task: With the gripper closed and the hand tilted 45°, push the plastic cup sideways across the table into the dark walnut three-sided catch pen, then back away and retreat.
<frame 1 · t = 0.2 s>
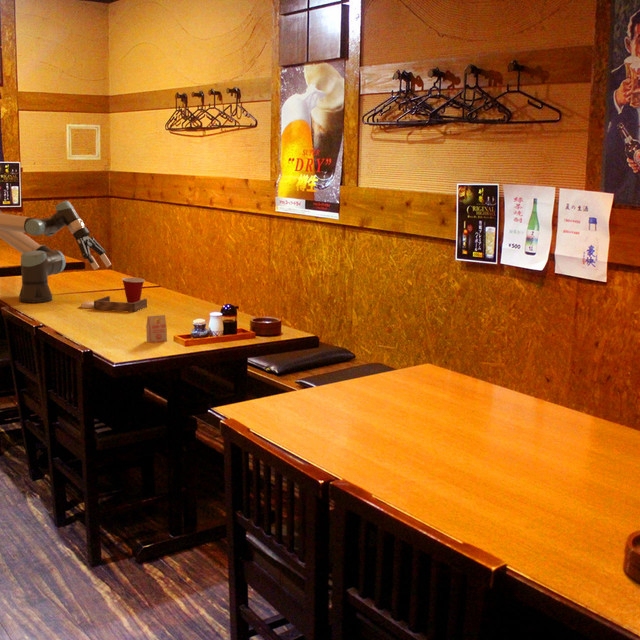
hand: (103, 267, 371), 16 cm above the table, tool tilted 35°, fingers open, 13 cm apart
plastic cup: (134, 303, 366), on the table
printed paper bag: (156, 341, 292), on the table
catch pen: (120, 308, 353), on the table
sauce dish: (90, 307, 355), on the table
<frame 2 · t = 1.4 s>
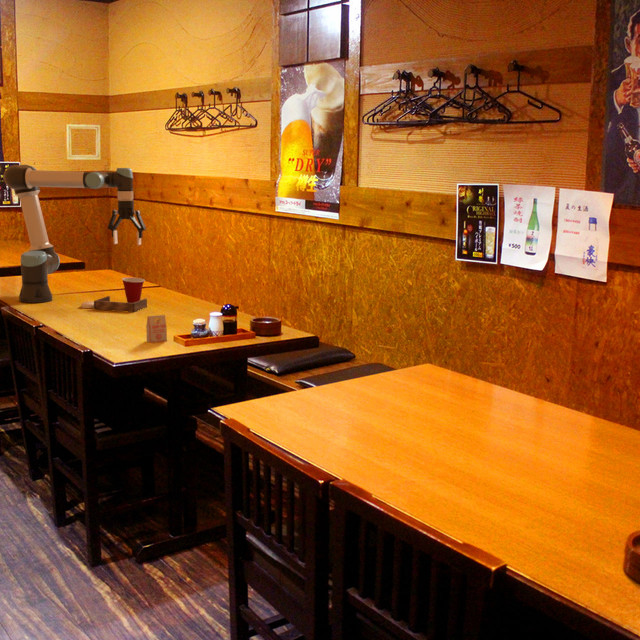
hand: (127, 244, 374), 27 cm above the table, tool pointing down, fingers open, 12 cm apart
nothing on the table moved.
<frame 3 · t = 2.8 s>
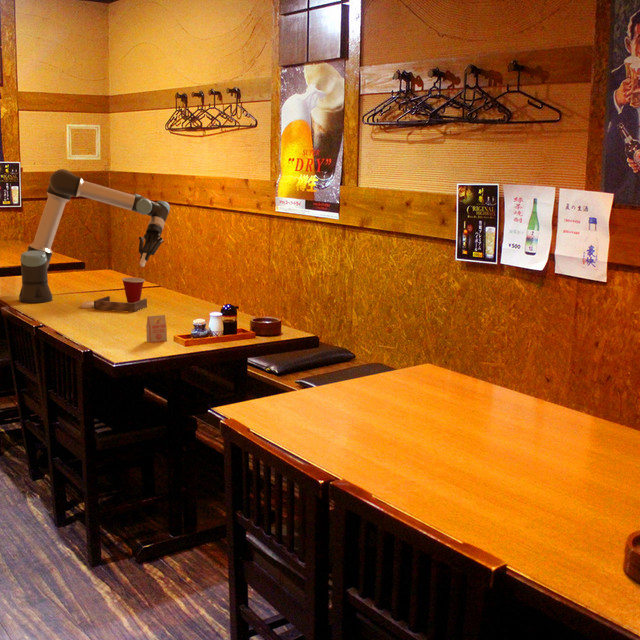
hand: (141, 265, 371), 17 cm above the table, tool tilted 45°, fingers closed
nothing on the table moved.
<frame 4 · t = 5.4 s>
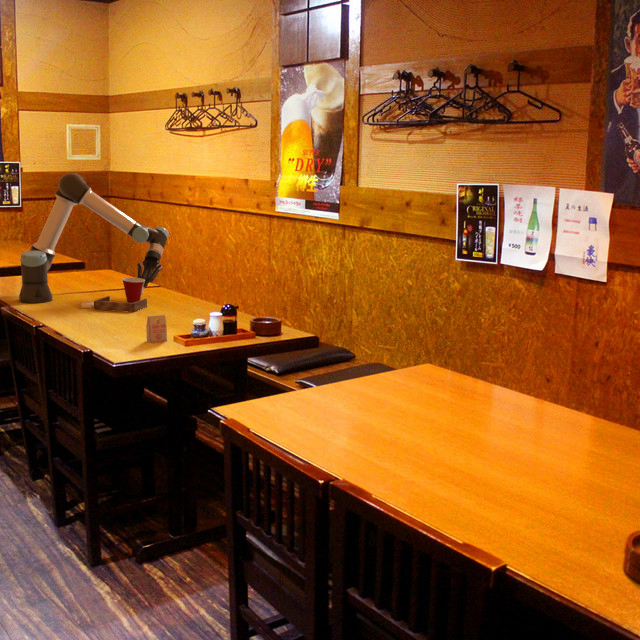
hand: (140, 292, 370), 4 cm above the table, tool tilted 45°, fingers closed
plastic cup: (134, 303, 366), on the table, touching gripper
everything else where it was.
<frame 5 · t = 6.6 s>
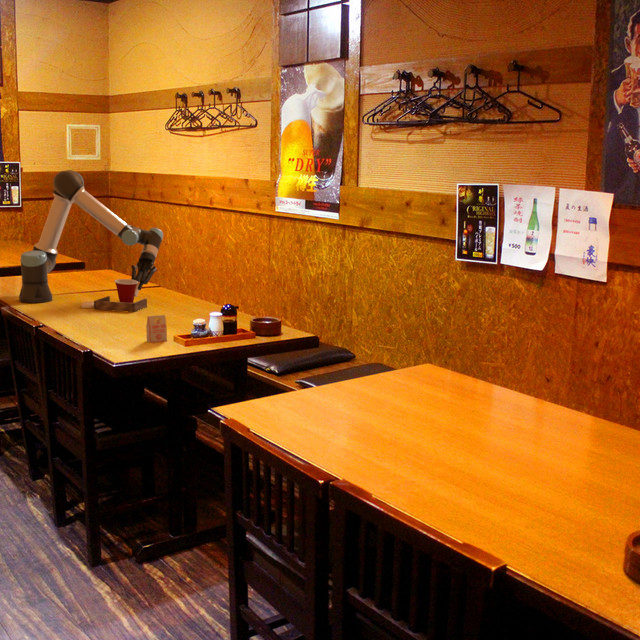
hand: (134, 294, 363), 4 cm above the table, tool tilted 45°, fingers closed
plastic cup: (127, 305, 360), on the table, touching gripper
everything else where it was.
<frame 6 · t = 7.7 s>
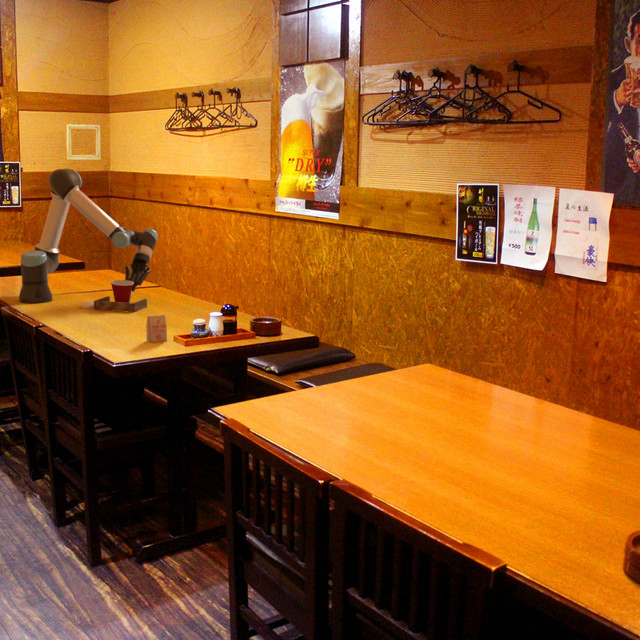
hand: (128, 296, 358), 5 cm above the table, tool tilted 45°, fingers closed
plastic cup: (123, 307, 357), on the table, touching gripper
everything else where it was.
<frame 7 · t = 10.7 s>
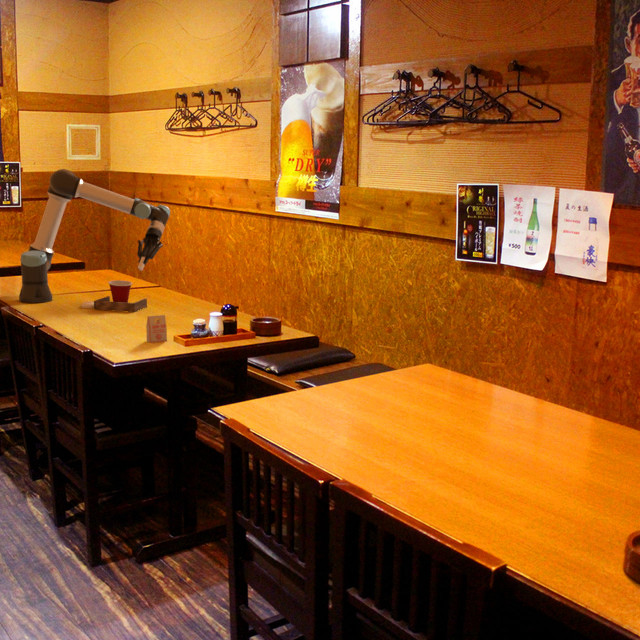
hand: (140, 268, 368), 16 cm above the table, tool tilted 45°, fingers closed
plastic cup: (121, 307, 355), on the table
everything else where it was.
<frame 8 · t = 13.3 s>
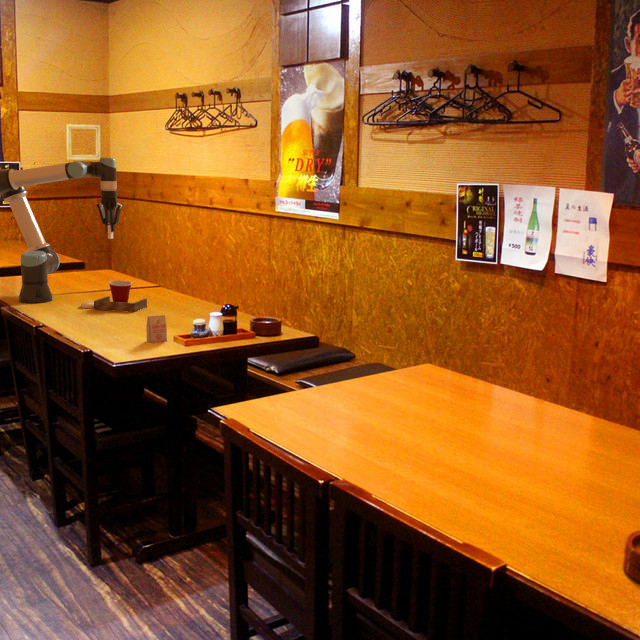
hand: (110, 238, 374), 29 cm above the table, tool pointing down, fingers closed
nothing on the table moved.
at the end: plastic cup inside the target area (3.4 cm from its centre), on the table; plastic cup moved 11.1 cm from its start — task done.
